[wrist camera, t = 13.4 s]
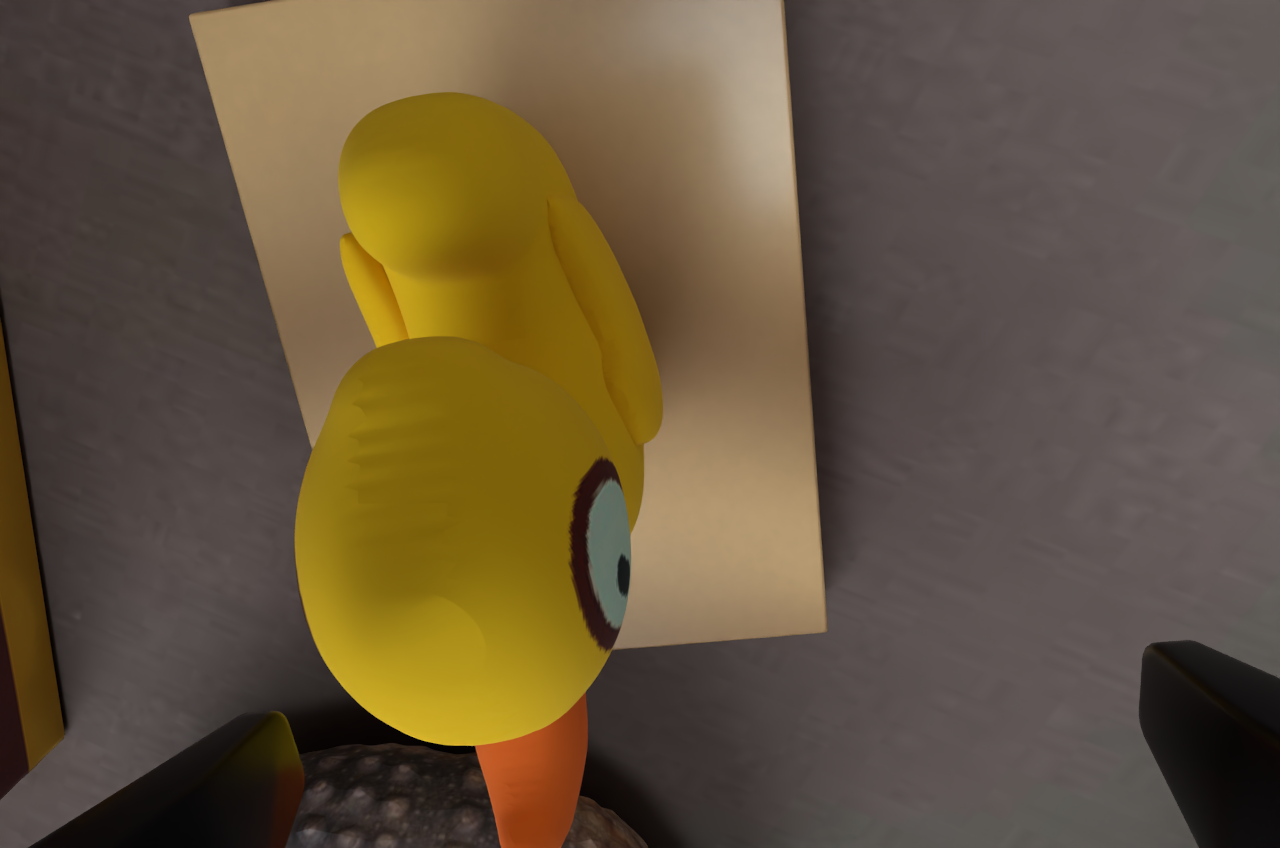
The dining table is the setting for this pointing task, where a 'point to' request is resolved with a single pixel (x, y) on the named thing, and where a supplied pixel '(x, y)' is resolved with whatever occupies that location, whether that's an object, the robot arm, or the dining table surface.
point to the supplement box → (21, 617)
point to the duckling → (478, 452)
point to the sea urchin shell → (418, 803)
